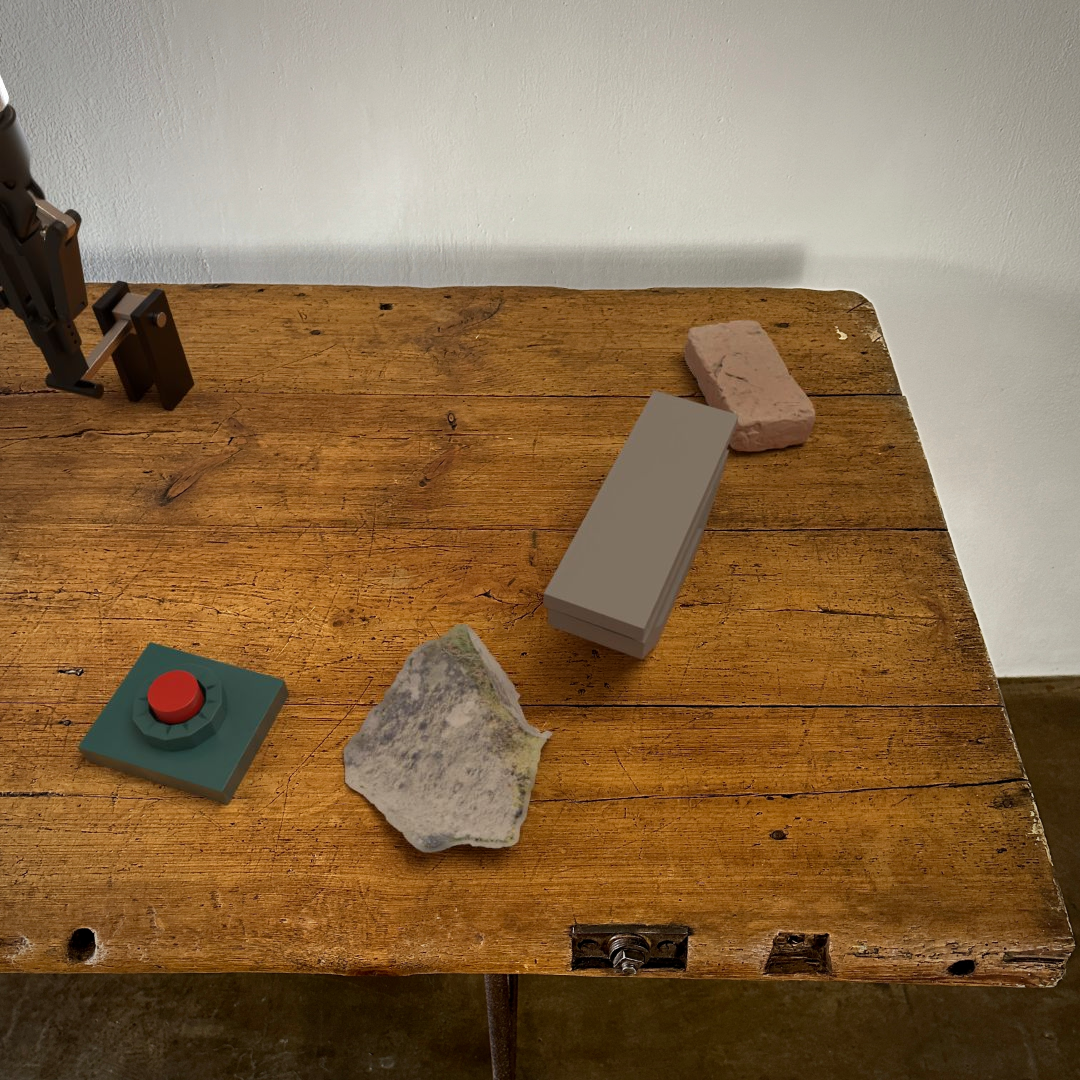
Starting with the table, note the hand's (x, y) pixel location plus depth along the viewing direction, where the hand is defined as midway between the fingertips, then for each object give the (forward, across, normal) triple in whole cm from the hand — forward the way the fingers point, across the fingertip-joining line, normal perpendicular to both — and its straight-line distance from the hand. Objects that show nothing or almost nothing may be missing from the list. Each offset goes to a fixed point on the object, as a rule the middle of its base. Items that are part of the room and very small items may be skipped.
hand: (73, 376), depth 86 cm
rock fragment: (+12, -42, +19) cm, 47 cm away
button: (+8, -22, +23) cm, 33 cm away
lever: (+2, 0, -5) cm, 6 cm away
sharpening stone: (+12, -52, -2) cm, 53 cm away
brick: (+12, -57, -29) cm, 65 cm away
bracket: (+11, 0, -10) cm, 15 cm away
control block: (+11, -22, +23) cm, 34 cm away
